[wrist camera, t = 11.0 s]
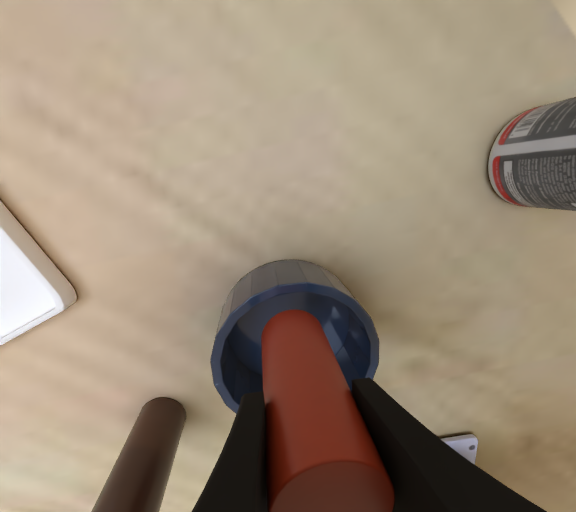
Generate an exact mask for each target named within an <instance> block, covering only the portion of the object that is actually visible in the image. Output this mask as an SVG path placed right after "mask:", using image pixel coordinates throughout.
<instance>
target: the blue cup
mask: <svg viewBox="0 0 576 512" xmlns="http://www.w3.org/2000/svg"><path fill="white" fill-rule="evenodd" d="M294 309H295V310H302V311H306V312H308V313H310V314H312V315H313V316H314V317H315V318H317V320H318V321H319V322H320V324H321V326H322V328H323V331H324V333H325V335H326V337H327V339H328V342H329V344H330V346H331V348H332V351H333V353H334V355H335V357H336V359H337V362H338V364H339V366H340V368H341V371H342V373H343V375H344V377H345V379H346V382H347V384H348V386H349V388H350V390H351V393H352V380H353V379H361V378H368V377H370V378H371V379H372V380H373V377H374V375H375V372H376V369H377V367H378V363H379V338H378V335H377V333H376V330H375V327H374V324H373V321H372V319H371V317H370V316H369V315H368V314H367V312H366V311H365V310H364V309H363V308H362V306H361V305H360V304H359V303H358V302H357V300H356V299H355V298H354V297H353V296H352V294H351V293H350V292H349V291H348V290H347V288H346V287H345V286H344V285H343V284H342V283H341V281H340V280H339V279H338V278H337V277H336V276H335V275H333V274H332V273H331V272H329V271H328V270H327V269H325V268H323V267H321V266H319V265H316V264H314V263H311V262H306V261H301V260H281V261H275V262H271V263H268V264H265V265H263V266H260V267H258V268H256V269H254V270H253V271H251V272H249V273H248V274H247V275H246V276H244V277H243V278H242V279H241V280H240V281H239V282H238V283H237V284H236V285H235V286H234V288H233V289H232V290H231V292H230V293H229V295H228V297H227V299H226V301H225V303H224V306H223V308H222V313H221V317H220V321H219V325H218V329H217V333H216V337H215V341H214V346H213V350H212V355H211V362H210V363H211V369H212V375H213V382H214V385H215V387H216V389H217V391H218V392H219V394H220V396H221V398H222V399H223V401H224V403H225V404H226V406H228V407H229V408H230V409H231V410H232V411H234V412H235V413H236V414H237V411H238V408H239V405H240V401H241V397H242V396H243V395H244V394H246V393H254V392H261V391H263V374H262V346H261V336H262V332H263V329H264V327H265V325H266V324H267V322H268V321H269V320H270V319H271V318H272V317H274V316H275V315H276V314H278V313H280V312H283V311H286V310H294Z"/></svg>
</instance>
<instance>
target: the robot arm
mask: <svg viewBox="0 0 576 512" xmlns="http://www.w3.org/2000/svg"><path fill="white" fill-rule="evenodd" d="M352 395H353V397H354V399H355V402H356V404H357V406H358V408H359V410H360V413H361V415H362V417H363V419H364V422H365V424H366V426H367V428H368V430H369V433H370V435H371V437H372V439H373V441H374V444H375V446H376V448H377V450H378V453H379V455H380V457H381V459H382V461H383V464H384V466H385V468H386V470H387V473H388V475H389V477H390V479H391V482H392V484H393V487H394V493H395V501H394V507H393V511H392V512H547V511H545V510H543V509H542V508H540V507H538V506H537V505H535V504H533V503H532V502H530V501H529V500H527V499H525V498H524V497H522V496H520V495H519V494H517V493H516V492H514V491H513V490H511V489H510V488H508V487H507V486H505V485H503V484H502V483H501V482H499V481H498V480H496V479H495V478H493V477H492V476H490V475H489V474H487V473H486V472H484V471H483V470H482V469H480V468H479V467H477V466H476V465H475V458H476V452H477V445H478V439H477V438H476V437H475V436H474V435H473V434H467V435H461V436H455V437H448V438H442V439H440V438H438V437H437V436H436V435H435V434H433V433H432V432H431V431H430V430H429V429H427V428H426V427H425V426H424V425H423V424H421V423H420V422H419V421H418V420H417V419H416V418H414V417H413V416H412V415H411V414H410V413H409V412H407V411H406V410H405V409H404V408H403V407H402V406H401V405H399V404H398V403H397V402H396V401H395V400H394V399H393V398H392V397H391V396H389V395H388V394H387V393H386V392H385V391H384V390H383V389H382V388H381V387H380V386H379V385H377V384H376V383H375V382H374V381H373V380H372V379H371V378H370V377H368V378H361V379H353V380H352ZM192 512H268V511H267V484H266V418H265V401H264V391H261V392H254V393H246V394H244V395H243V396H242V397H241V401H240V405H239V408H238V411H237V414H236V417H235V420H234V423H233V425H232V428H231V431H230V433H229V436H228V438H227V440H226V443H225V445H224V447H223V450H222V452H221V454H220V457H219V459H218V461H217V463H216V465H215V467H214V469H213V471H212V473H211V475H210V477H209V480H208V482H207V484H206V486H205V488H204V490H203V492H202V494H201V495H200V497H199V499H198V501H197V503H196V505H195V507H194V509H193V510H192Z"/></svg>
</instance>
